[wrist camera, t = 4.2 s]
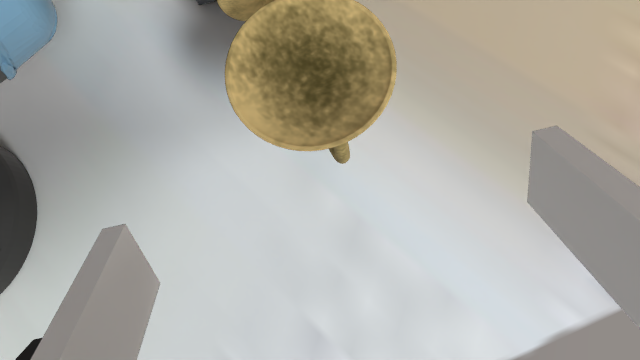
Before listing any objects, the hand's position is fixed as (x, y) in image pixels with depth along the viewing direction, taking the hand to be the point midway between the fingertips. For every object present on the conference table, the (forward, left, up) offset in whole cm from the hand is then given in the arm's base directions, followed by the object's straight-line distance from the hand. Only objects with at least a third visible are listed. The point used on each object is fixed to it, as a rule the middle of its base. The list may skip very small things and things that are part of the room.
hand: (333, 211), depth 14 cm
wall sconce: (0, +11, -18) cm, 22 cm away
